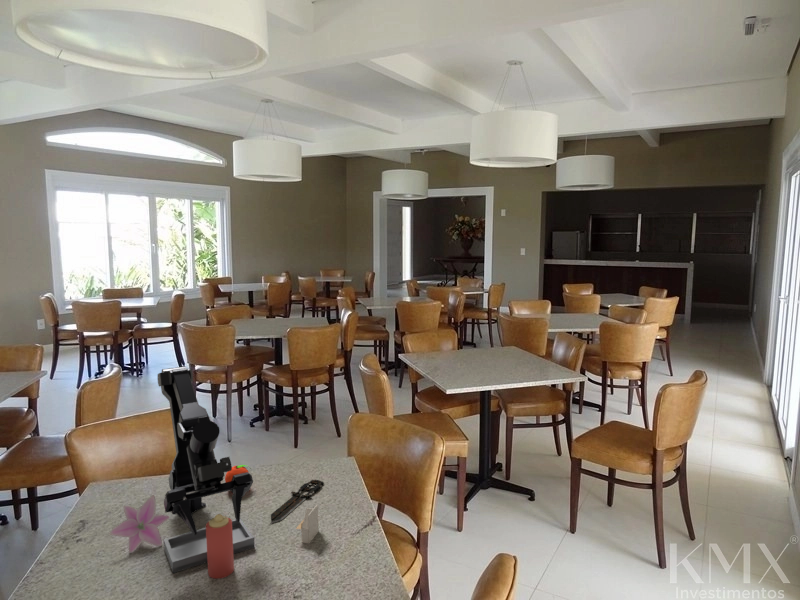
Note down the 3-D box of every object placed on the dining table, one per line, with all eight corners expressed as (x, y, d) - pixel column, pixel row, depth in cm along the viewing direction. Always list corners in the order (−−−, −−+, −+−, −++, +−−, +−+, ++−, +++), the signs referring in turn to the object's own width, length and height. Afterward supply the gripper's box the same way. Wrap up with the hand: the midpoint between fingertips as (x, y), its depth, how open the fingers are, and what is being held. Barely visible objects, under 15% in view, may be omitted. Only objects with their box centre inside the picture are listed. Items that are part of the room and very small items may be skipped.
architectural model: (295, 543, 130) (294, 514, 129) (308, 528, 137) (307, 500, 136) (309, 545, 129) (308, 515, 129) (320, 530, 136) (319, 502, 135)
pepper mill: (202, 574, 118) (199, 517, 116) (221, 561, 122) (218, 506, 121) (221, 581, 115) (218, 523, 114) (239, 567, 120) (236, 511, 119)
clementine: (246, 480, 164) (245, 458, 163) (257, 488, 158) (257, 465, 158) (221, 489, 158) (220, 465, 157) (232, 497, 153) (230, 473, 152)
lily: (102, 556, 127) (106, 530, 122) (124, 514, 137) (128, 489, 132) (155, 566, 129) (160, 541, 124) (172, 524, 139) (178, 500, 135)
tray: (164, 549, 127) (163, 539, 127) (240, 526, 137) (240, 517, 137) (173, 573, 118) (172, 562, 118) (254, 547, 128) (254, 537, 128)
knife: (275, 527, 138) (274, 522, 138) (255, 522, 140) (254, 516, 140) (329, 486, 160) (329, 481, 160) (311, 482, 163) (311, 477, 163)
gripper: (163, 456, 117) (175, 527, 109) (248, 438, 127) (266, 502, 119) (159, 478, 124) (170, 546, 116) (240, 460, 134) (256, 521, 126)
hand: (217, 528), depth 119 cm, fingers open, 9 cm apart
